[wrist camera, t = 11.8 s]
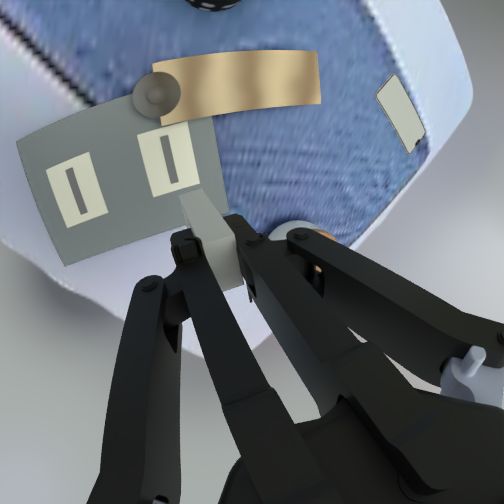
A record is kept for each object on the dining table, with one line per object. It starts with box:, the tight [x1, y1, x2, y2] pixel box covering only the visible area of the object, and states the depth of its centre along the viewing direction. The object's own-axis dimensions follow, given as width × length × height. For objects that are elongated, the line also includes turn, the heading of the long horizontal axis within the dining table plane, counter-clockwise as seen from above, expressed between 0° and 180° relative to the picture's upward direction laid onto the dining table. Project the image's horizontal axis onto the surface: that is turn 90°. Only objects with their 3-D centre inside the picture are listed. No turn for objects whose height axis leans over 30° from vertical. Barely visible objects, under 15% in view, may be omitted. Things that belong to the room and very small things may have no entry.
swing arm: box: [132, 50, 321, 126], centre depth 27 cm, size 22×7×3 cm, turn 96°
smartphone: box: [375, 73, 425, 154], centre depth 41 cm, size 7×1×15 cm
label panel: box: [16, 94, 229, 266], centre depth 30 cm, size 18×24×2 cm
